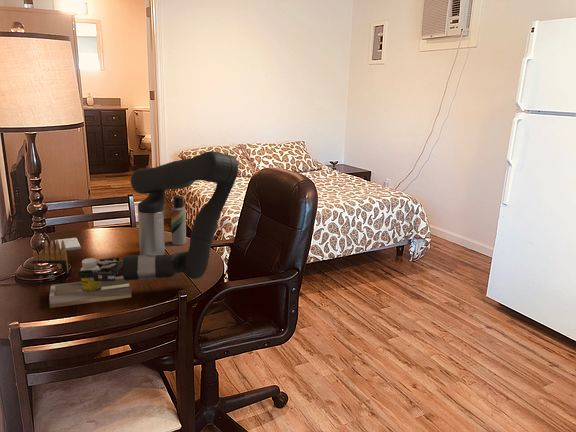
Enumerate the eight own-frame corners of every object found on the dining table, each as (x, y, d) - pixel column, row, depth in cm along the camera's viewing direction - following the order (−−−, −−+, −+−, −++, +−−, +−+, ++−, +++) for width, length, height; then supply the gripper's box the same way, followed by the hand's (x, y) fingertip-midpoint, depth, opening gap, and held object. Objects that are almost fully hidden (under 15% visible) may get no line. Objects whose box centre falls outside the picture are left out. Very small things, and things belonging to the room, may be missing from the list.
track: (52, 293, 137) (51, 284, 136) (128, 284, 146) (128, 275, 145) (50, 307, 128) (49, 298, 128) (131, 297, 137) (131, 288, 136)
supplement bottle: (79, 290, 137) (76, 259, 134) (97, 285, 140) (94, 255, 138) (86, 296, 133) (83, 265, 130) (104, 290, 137) (102, 260, 134)
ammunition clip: (69, 272, 153) (66, 239, 150) (67, 274, 152) (64, 240, 148) (36, 273, 152) (32, 239, 149) (33, 275, 150) (29, 240, 147)
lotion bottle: (178, 240, 191) (177, 193, 186) (189, 242, 189) (188, 195, 183) (169, 243, 187) (167, 196, 181) (179, 246, 184) (178, 198, 179)
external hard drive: (57, 253, 172) (54, 243, 183) (81, 250, 176) (77, 240, 187) (57, 249, 172) (54, 239, 182) (80, 246, 176) (76, 237, 186)
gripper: (141, 248, 144) (84, 250, 140) (137, 264, 131) (74, 267, 127) (142, 270, 146) (86, 273, 142) (139, 288, 133) (76, 292, 129)
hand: (81, 270), depth 134 cm, fingers open, 5 cm apart
